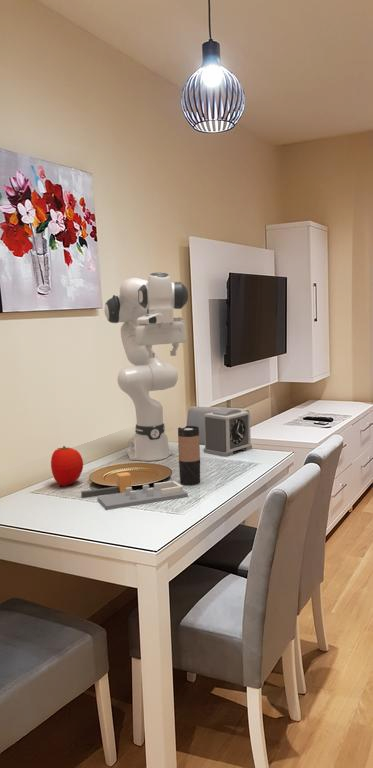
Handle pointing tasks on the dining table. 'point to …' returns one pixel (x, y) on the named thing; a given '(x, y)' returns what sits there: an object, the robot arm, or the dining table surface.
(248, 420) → the alarm clock
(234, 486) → the dining table surface
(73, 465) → the red apple
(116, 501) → the clip board
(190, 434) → the travel mug
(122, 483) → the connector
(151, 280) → the robot arm
